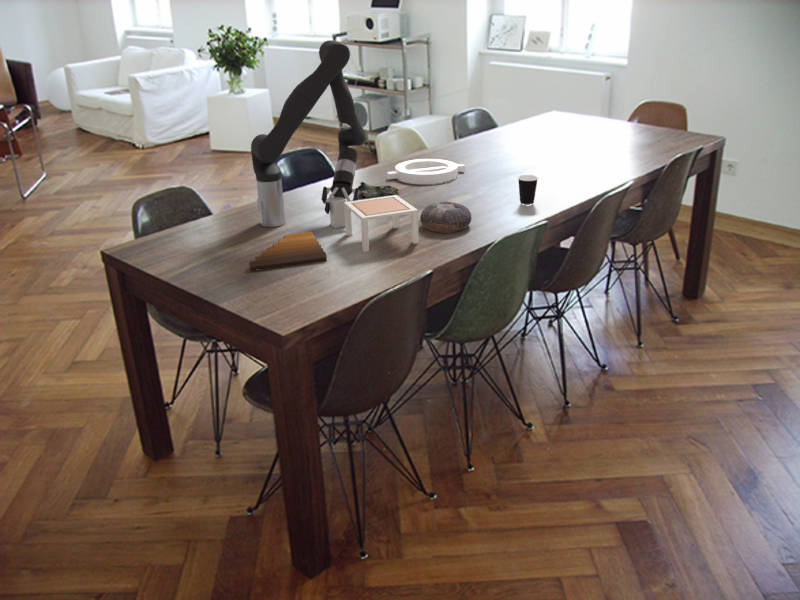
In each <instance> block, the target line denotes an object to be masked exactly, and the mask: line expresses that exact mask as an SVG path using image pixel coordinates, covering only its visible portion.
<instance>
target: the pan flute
mask: <svg viewBox="0 0 800 600" xmlns="http://www.w3.org/2000/svg"><path fill="white" fill-rule="evenodd" d="M327 259H328V258H327V253H326V251H324V247H322V245H321V244H320V243H319V241H318V240H317V237H316V236H315V234H313V231H308V232H300V233H292V234H284V235H283V238H279V239H278V241H277V242H275V243H272V247H267V248H266V251H262V252H261V253H260V255H259V256H255V257H254V260H252V261H248V266H249V267H250V268H249V267H248V268H249V270H256V269H257V270H256V271H259V270H258V269H263V270H268V269H267V268H271V269H276V268H275V267H278V268H283V266H285V267H290V266H292V265H293V266H298V265H300V266H301V265H307V264H313V263H314V264H315V263H320V262H327Z"/></svg>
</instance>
